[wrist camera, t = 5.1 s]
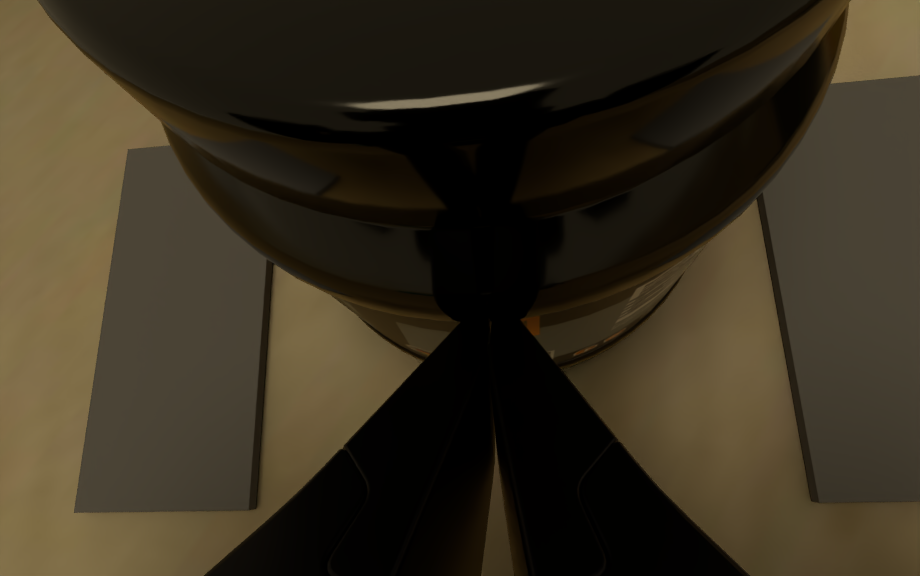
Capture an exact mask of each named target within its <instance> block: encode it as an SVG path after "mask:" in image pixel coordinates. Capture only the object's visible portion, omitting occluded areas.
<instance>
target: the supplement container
mask: <svg viewBox="0 0 920 576" xmlns="http://www.w3.org/2000/svg"><path fill="white" fill-rule="evenodd" d="M37 1H38V2H39V3H40V5H41V6H42V8H43V9H44V10H45V12H46V13H47V15H48V16H49V17H50V19H51V20H52V21H53V22H54V23H55V25H56V26H57V27H58V28H59V29H60V30H61V31H62V32H63V33H64V34H65V35H66V36H67V37H68V38H69V39H70V40H71V41H72V42H73V43H74V44H75V46H76V47H77V48H78V49H79V50H80V51H81V52H82V53H83V54H84V55H85V56H86V57H87V58H89V59H90V60H91V61H92V62H93V63H94V64H95V65H97V66H98V67H99V68H100V69H101V70H102V71H104V72H105V73H106V74H107V75H108V76H109V77H110V78H112V79H113V80H114V81H115V82H116V83H117V84H118V85H120V86H121V87H122V88H123V89H124V90H125V91H126V92H128V93H129V94H130V95H131V96H132V97H133V98H134V99H136V100H137V101H138V102H139V103H140V104H141V105H143V106H144V107H145V108H146V109H147V110H148V111H149V112H151V113H152V114H153V115H154V116H155V117H156V118H157V119H159V120H160V121H161V123H162V126H163V128H164V131H165V133H166V136H167V138H168V141H169V143H170V146H171V148H172V150H173V152H174V154H175V155H176V157H177V159H178V161H179V163H180V165H181V166H182V168H183V170H184V172H185V174H186V175H187V177H188V179H189V180H190V181H191V183H192V184H193V185H194V187H195V188H196V190H197V191H198V192H199V194H200V195H201V196H202V198H203V199H204V201H205V202H206V203H207V205H208V206H209V207H210V208H211V209H212V210H213V211H214V212H215V213H216V214H217V215H218V217H219V218H220V219H221V220H222V221H223V222H224V223H225V224H226V225H227V226H228V227H229V228H230V229H231V230H232V231H233V232H234V233H235V234H236V235H237V236H239V237H240V238H241V239H242V240H243V241H245V242H246V243H247V244H248V245H249V246H251V247H252V248H253V249H254V250H256V251H257V252H258V253H259V254H260V255H262V256H263V257H265V258H266V259H268V260H269V261H271V262H272V263H274V264H275V265H277V266H278V267H280V268H281V269H283V270H285V271H286V272H288V273H289V274H291V275H292V276H294V277H295V278H297V279H299V280H301V281H303V282H305V283H307V284H309V285H311V286H313V287H315V288H317V289H319V290H321V291H324V292H326V293H328V294H330V295H331V296H332V297H334V298H335V299H336V300H338V301H339V302H340V303H342V304H343V305H344V306H346V307H347V308H348V309H350V310H351V311H352V312H354V313H355V314H356V315H357V316H358V317H359V318H360V319H361V320H362V321H363V322H364V323H365V324H366V325H367V326H368V327H370V328H371V329H372V330H373V331H375V332H376V333H377V334H378V335H379V336H381V337H382V338H383V339H384V340H386V341H387V342H389V343H391V344H392V345H394V346H395V347H397V348H398V349H400V350H401V351H403V352H405V353H407V354H409V355H411V356H413V357H415V358H417V359H419V360H421V361H424V360H425V359H426V358H427V357H428V356H429V355H430V354H431V353H432V352H433V351H434V349H435V348H436V347H437V346H438V345H439V344H440V343H441V342H442V341H443V340H444V339H445V338H446V337H447V336H448V335H449V334H450V333H451V331H452V330H453V329H454V328H455V327H456V326H457V325H458V324H459V323H460V322H489V323H490V329H491V323H492V321H500V320H512V319H520V320H521V321H522V322H523V323H524V325H525V326H526V327H527V328H528V329H529V331H530V332H531V333H532V334H533V336H534V337H535V338H536V339H537V340H538V342H539V343H540V344H541V345H542V347H543V348H544V349H545V350H546V352H547V353H548V354H549V355H550V356H551V358H552V359H553V360H554V361H555V363H556V364H557V365H558V366H559V367H560V369H564V368H567V367H571V366H573V365H576V364H578V363H581V362H583V361H586V360H588V359H591V358H593V357H595V356H596V355H598V354H600V353H602V352H604V351H606V350H608V349H610V348H611V347H613V346H614V345H616V344H617V343H619V342H620V341H622V340H623V339H625V338H626V337H628V336H629V335H630V334H632V333H633V332H634V331H635V330H636V329H637V328H639V327H640V326H641V325H642V324H643V323H644V322H646V321H647V320H648V319H649V318H650V317H651V316H652V314H653V313H654V312H655V311H656V310H657V309H658V308H659V307H660V306H661V305H662V304H663V303H664V301H665V300H666V299H667V297H668V296H669V295H670V293H671V292H672V291H673V289H674V288H675V287H676V285H677V284H678V282H679V280H680V279H681V277H682V275H683V274H684V272H685V270H686V269H687V268H688V267H689V265H690V264H691V263H692V262H693V260H694V259H695V258H696V257H697V256H698V254H699V253H700V252H701V251H702V249H703V248H704V247H705V246H706V245H707V243H708V242H709V241H711V240H712V239H713V238H714V237H715V236H717V235H718V234H719V233H720V232H721V231H722V230H724V229H725V228H726V227H727V226H728V225H729V224H731V223H732V222H733V221H734V220H735V219H737V218H738V217H739V216H740V215H741V214H742V213H743V212H744V211H745V210H746V209H747V208H748V207H749V206H750V205H751V204H752V202H753V201H754V200H755V199H756V198H757V197H758V196H759V195H760V194H761V193H762V192H763V191H764V190H765V189H766V188H767V186H768V185H769V184H770V183H771V182H772V181H773V180H774V178H775V177H776V176H777V175H778V173H779V172H780V171H781V169H782V168H783V166H784V165H785V164H786V162H787V161H788V160H789V158H790V157H791V156H792V154H793V153H794V152H795V150H796V149H797V148H798V146H799V145H800V143H801V141H802V140H803V138H804V136H805V134H806V133H807V131H808V129H809V127H810V126H811V124H812V122H813V120H814V118H815V117H816V115H817V113H818V111H819V110H820V107H821V105H822V103H823V100H824V98H825V95H826V93H827V91H828V88H829V86H830V83H831V81H832V78H833V76H834V73H835V71H836V67H837V64H838V60H839V56H840V52H841V48H842V45H843V41H844V37H845V33H846V26H847V17H848V9H849V2H850V1H851V0H37Z"/></svg>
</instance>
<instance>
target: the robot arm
mask: <svg viewBox="0 0 920 576" xmlns="http://www.w3.org/2000/svg"><path fill="white" fill-rule="evenodd" d="M495 436H496V446H497V455H498V464H499V473H500V481H501V488H502V494H503V501H504V508H505V515H506V522H507V529H508V536H509V542H510V549H511V556H512V563H513V570H514V576H750V575H749V574H748V573H747V572H746V571H745V570H743V569H742V568H741V567H740V566H739V565H738V564H737V563H736V562H735V561H734V560H733V559H732V558H731V557H730V556H729V555H728V554H727V553H726V552H725V551H724V550H722V549H721V548H720V547H719V546H718V545H717V544H716V543H715V542H714V541H713V540H712V539H711V538H710V537H709V536H708V535H707V534H706V533H705V532H704V531H703V530H701V529H700V528H699V527H698V526H697V525H696V524H695V523H694V522H693V521H692V520H691V519H690V518H689V517H688V516H687V515H686V514H685V513H684V512H683V511H682V510H681V509H680V508H679V507H678V506H677V505H676V504H675V503H674V502H673V501H672V500H671V499H670V498H669V497H668V496H667V495H666V494H665V493H664V492H663V491H662V490H661V489H660V488H659V487H658V486H657V484H656V483H655V482H654V481H653V480H652V479H651V478H650V477H649V475H648V474H647V473H646V472H645V471H644V470H643V469H642V467H641V466H640V465H639V464H638V463H637V462H636V460H635V459H634V458H633V457H632V456H631V454H630V453H629V452H628V451H627V449H626V448H625V447H624V446H623V444H622V443H621V442H618V439H617V437H616V436H615V435H614V434H613V433H612V431H611V430H610V429H609V428H608V426H607V425H606V424H605V423H604V421H603V420H602V419H601V418H600V417H599V415H598V414H597V413H596V412H595V410H594V409H593V408H592V407H591V406H590V404H589V403H588V402H587V401H586V399H585V398H584V397H583V396H582V394H581V393H580V392H579V391H578V390H577V388H576V387H575V386H574V385H573V383H572V382H571V381H570V380H569V379H568V377H567V376H566V375H565V374H564V372H563V371H562V370H561V369H560V367H559V366H558V365H557V364H556V363H555V361H554V360H553V359H552V358H551V356H550V355H549V354H548V353H547V352H546V350H545V349H544V348H543V347H542V345H541V344H540V343H539V342H538V340H537V339H536V338H535V337H534V336H533V334H532V333H531V332H530V331H529V329H528V328H527V327H526V326H525V325H524V323H523V322H522V321H521V320H520V319H512V320H500V321H492V323H491V329H490V323H489V322H460V323H459V324H458V325H457V326H456V327H455V328H454V329H453V330H452V331H451V333H450V334H449V335H448V336H447V337H446V338H445V339H444V340H443V341H442V342H441V343H440V344H439V345H438V346H437V347H436V348H435V349H434V351H433V352H432V353H431V354H430V355H429V356H428V357H427V358H426V359H425V360H424V361H423V362H422V363H421V364H420V365H419V366H418V367H417V369H416V370H415V371H414V372H413V373H412V374H411V375H410V376H409V377H408V378H407V379H406V380H405V381H404V382H403V383H402V384H401V385H400V387H399V388H398V389H397V390H396V391H395V392H394V393H393V394H392V395H391V396H390V397H389V398H388V399H387V400H386V401H385V402H384V403H383V405H382V406H381V407H380V408H379V409H378V410H377V411H376V412H375V413H374V414H373V415H372V416H371V417H370V418H369V419H368V420H367V421H366V423H365V424H364V425H363V426H362V427H361V428H360V429H359V430H358V431H357V432H356V433H355V434H354V435H353V436H352V437H351V438H350V439H349V441H348V442H347V443H346V444H345V445H344V447H343V449H340V450H339V451H338V452H337V453H336V454H335V455H334V456H333V457H332V458H331V459H330V460H329V461H328V462H327V463H326V465H325V466H324V467H323V468H322V469H321V470H320V471H319V472H318V473H317V474H316V475H315V476H314V477H313V478H312V479H311V480H310V481H309V482H308V483H307V484H306V485H305V486H304V487H303V488H302V489H301V490H300V491H299V492H298V493H297V494H296V495H295V496H293V497H292V498H291V499H290V500H289V501H288V502H287V503H286V504H285V505H284V506H282V507H281V508H280V509H279V510H278V511H277V512H276V513H275V514H274V515H272V516H271V517H270V518H269V519H268V520H267V521H266V522H265V523H264V524H263V525H261V526H260V527H259V528H258V529H257V530H256V531H255V532H253V533H252V534H251V535H250V536H249V537H248V538H246V539H245V540H244V541H243V542H242V543H241V544H240V545H238V546H237V547H236V548H235V549H234V550H233V551H232V552H230V553H229V554H228V555H227V556H226V557H225V558H223V559H222V560H221V561H220V562H219V563H218V564H217V565H215V566H214V567H213V568H212V569H211V570H210V571H208V572H207V573H206V574H205V575H204V576H481V570H482V562H483V554H484V547H485V539H486V531H487V523H488V515H489V507H490V499H491V491H492V483H493V474H494V464H495Z"/></svg>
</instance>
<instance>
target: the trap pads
mask: <svg viewBox="0 0 920 576" xmlns="http://www.w3.org/2000/svg"><path fill="white" fill-rule="evenodd" d="M757 200H758V205H759V211H760V216H761V222H762V227H763V233H764V239H765V244H766V250H767V255H768V261H769V267H770V272H771V278H772V283H773V289H774V294H775V300H776V306H777V311H778V317H779V322H780V328H781V333H782V339H783V345H784V350H785V356H786V361H787V367H788V373H789V378H790V384H791V389H792V395H793V400H794V406H795V412H796V417H797V423H798V428H799V434H800V440H801V445H802V451H803V456H804V462H805V467H806V473H807V479H808V484H809V490H810V495H811V501H813V502H819V503H831V502H906V501H920V76H910V77H899V78H888V79H877V80H867V81H856V82H845V83H834V84H830V86H829V88H828V91H827V93H826V95H825V98H824V100H823V103H822V105H821V107H820V110H819V111H818V113H817V115H816V117H815V118H814V120H813V122H812V124H811V126H810V127H809V129H808V131H807V133H806V134H805V136H804V138H803V140H802V141H801V143H800V145H799V146H798V148H797V149H796V150H795V152H794V153H793V154H792V156H791V157H790V158H789V160H788V161H787V162H786V164H785V165H784V166H783V168H782V169H781V171H780V172H779V173H778V175H777V176H776V177H775V178H774V180H773V181H772V182H771V183H770V184H769V185H768V186H767V188H766V189H765V190H764V191H763V192H762V193H761V194H760V195H759V196H758V197H757ZM272 265H273V263H272V262H271V261H269V260H268V259H266V258H265V257H263V256H262V255H260V254H259V253H258V252H257V251H256V250H254V249H253V248H252V247H251V246H249V245H248V244H247V243H246V242H245V241H243V240H242V239H241V238H240V237H239V236H237V235H236V234H235V233H234V232H233V231H232V230H231V229H230V228H229V227H228V226H227V225H226V224H225V223H224V222H223V221H222V220H221V219H220V218H219V217H218V215H217V214H216V213H215V212H214V211H213V210H212V209H211V208H210V207H209V206H208V205H207V203H206V202H205V201H204V199H203V198H202V196H201V195H200V194H199V192H198V191H197V190H196V188H195V187H194V185H193V184H192V183H191V181H190V180H189V179H188V177H187V175H186V174H185V172H184V170H183V168H182V166H181V165H180V163H179V161H178V159H177V157H176V155H175V154H174V152H173V150H172V148H171V146H159V147H149V148H138V149H128V153H127V160H126V166H125V173H124V180H123V186H122V193H121V200H120V207H119V213H118V220H117V227H116V233H115V240H114V247H113V254H112V260H111V267H110V274H109V280H108V287H107V294H106V301H105V307H104V314H103V321H102V327H101V334H100V341H99V348H98V354H97V361H96V368H95V375H94V381H93V388H92V395H91V401H90V408H89V415H88V422H87V428H86V435H85V442H84V448H83V455H82V462H81V469H80V475H79V482H78V489H77V495H76V502H75V509H74V513H84V512H159V511H233V510H252V509H256V499H257V484H258V470H259V455H260V440H261V426H262V411H263V397H264V382H265V367H266V353H267V338H268V323H269V309H270V294H271V279H272Z"/></svg>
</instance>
